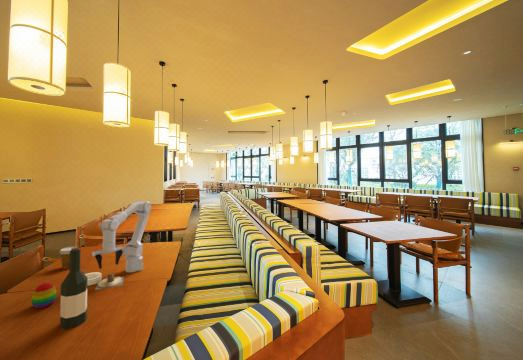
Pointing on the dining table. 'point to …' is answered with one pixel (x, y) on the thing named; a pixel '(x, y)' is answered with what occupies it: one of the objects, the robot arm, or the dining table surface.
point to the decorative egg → (44, 295)
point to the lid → (110, 281)
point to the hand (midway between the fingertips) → (108, 266)
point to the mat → (109, 287)
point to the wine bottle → (74, 294)
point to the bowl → (93, 278)
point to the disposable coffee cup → (65, 257)
